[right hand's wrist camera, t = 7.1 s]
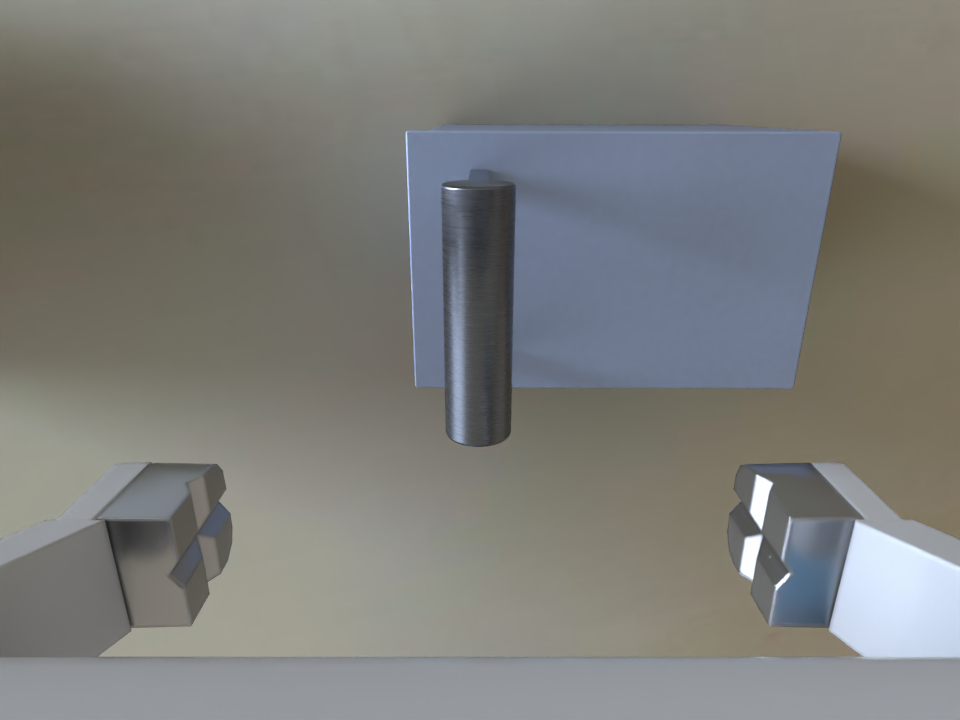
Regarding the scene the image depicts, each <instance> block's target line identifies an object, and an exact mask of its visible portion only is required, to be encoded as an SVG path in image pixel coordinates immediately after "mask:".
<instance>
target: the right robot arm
mask: <svg viewBox="0 0 960 720" xmlns="http://www.w3.org/2000/svg"><path fill="white" fill-rule="evenodd" d="M225 490H226V484H225V479H224V475H223V470H222V469H221V468H220V467H219V466H218V465H217V464H192V463H151V462H137V463H119V464H115V465H114V466H113V467H112V468H111V469H110V470H109V471H108V472H107V473H106V474H105V475H103V476H102V477H101V478H100V479H99V480H98V481H97V482H96V483H95V484H94V485H93V486H92V487H91V488H90V489H89V490H88V491H87V492H86V493H85V494H83V495H82V496H81V497H80V498H79V499H78V500H77V501H76V502H75V503H74V504H73V505H72V506H71V507H70V508H69V509H68V510H67V511H66V512H65V513H64V514H62V515H61V516H60V517H59V518H58V519H57V520H44V521H42V522H40V523H37V524H35V525H33V526H30V527H28V528H25V529H23V530H21V531H18V532H16V533H14V534H11V535H9V536H6V537H4V538H2V539H0V720H960V539H958V538H956V537H954V536H951V535H949V534H946V533H944V532H942V531H939V530H937V529H935V528H932V527H930V526H927V525H925V524H923V523H920V522H918V521H916V520H903V519H902V518H901V517H900V516H899V515H898V514H897V513H895V512H894V511H893V510H892V509H891V508H890V507H889V506H888V505H887V504H886V503H885V502H884V501H883V500H882V499H881V498H880V497H879V496H878V495H877V494H876V493H875V492H873V491H872V490H871V489H870V488H869V487H868V486H867V485H866V484H865V483H864V482H863V481H862V480H861V479H860V478H859V477H858V476H857V475H856V474H855V473H854V472H853V471H851V470H850V469H849V468H848V467H847V466H846V465H845V464H842V463H838V462H825V463H784V464H747V465H740V467H739V470H738V472H737V474H736V478H735V484H734V490H735V492H736V493H737V495H738V496H739V498H740V500H741V502H740V503H739V504H738V505H737V506H736V507H735V508H734V509H733V510H732V512H731V513H730V515H729V523H728V531H727V533H728V544H729V551H730V554H731V558H732V561H733V563H734V565H735V567H736V569H737V571H738V572H739V574H741V575H742V576H744V577H745V578H747V579H749V580H750V581H752V588H751V596H752V597H753V599H754V601H755V603H756V604H757V606H758V608H759V610H760V611H761V613H762V615H763V617H764V618H765V620H766V622H767V624H768V625H769V626H778V627H815V628H829V630H828V631H830V632H831V633H832V634H834V635H835V636H836V637H838V638H839V639H840V640H842V641H843V642H844V643H846V644H847V645H848V646H849V647H851V648H852V649H853V650H855V651H856V652H857V653H859V654H860V655H861V656H863V657H98V656H99V655H100V654H102V653H103V652H104V651H106V650H107V649H108V648H109V647H111V646H112V645H113V644H115V643H116V642H117V641H119V640H120V639H121V638H123V637H124V636H125V635H127V634H128V633H129V632H130V631H131V628H145V627H180V626H192V624H193V622H194V620H195V619H196V617H197V615H198V613H199V612H200V610H201V608H202V606H203V604H204V603H205V601H206V599H207V597H208V596H209V594H210V593H209V588H208V581H210V580H211V579H213V578H215V577H216V576H218V575H219V574H221V572H222V571H223V569H224V567H225V565H226V563H227V561H228V558H229V554H230V549H231V545H232V521H231V514H230V513H229V512H228V510H227V509H226V508H225V507H224V506H223V505H222V504H221V503H220V502H219V500H220V498H221V496H222V495H223V493H224V492H225Z"/></svg>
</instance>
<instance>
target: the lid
mask: <svg viewBox="0 0 960 720" xmlns="http://www.w3.org/2000/svg"><path fill="white" fill-rule="evenodd" d="M841 135H842V134H841V132H833V131H407V132H406V155H407V182H408V209H409V236H410V263H411V290H412V317H413V344H414V370H415V387H436V388H445V417H446V434H447V435H448V437H449V438H450V439H451V440H452V441H454V442H456V443H459V444H462V445H466V446H474V447H483V446H491V445H495V444H498V443H500V442H502V441H504V440H506V439H507V438H508V436H509V435H510V432H511V401H512V388H793V387H794V382H795V377H796V372H797V366H798V361H799V356H800V351H801V345H802V340H803V335H804V329H805V324H806V319H807V314H808V308H809V303H810V298H811V293H812V287H813V282H814V277H815V271H816V266H817V261H818V256H819V250H820V245H821V240H822V235H823V229H824V224H825V219H826V214H827V208H828V203H829V198H830V192H831V187H832V182H833V177H834V171H835V166H836V161H837V156H838V150H839V145H840V140H841Z"/></svg>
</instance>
